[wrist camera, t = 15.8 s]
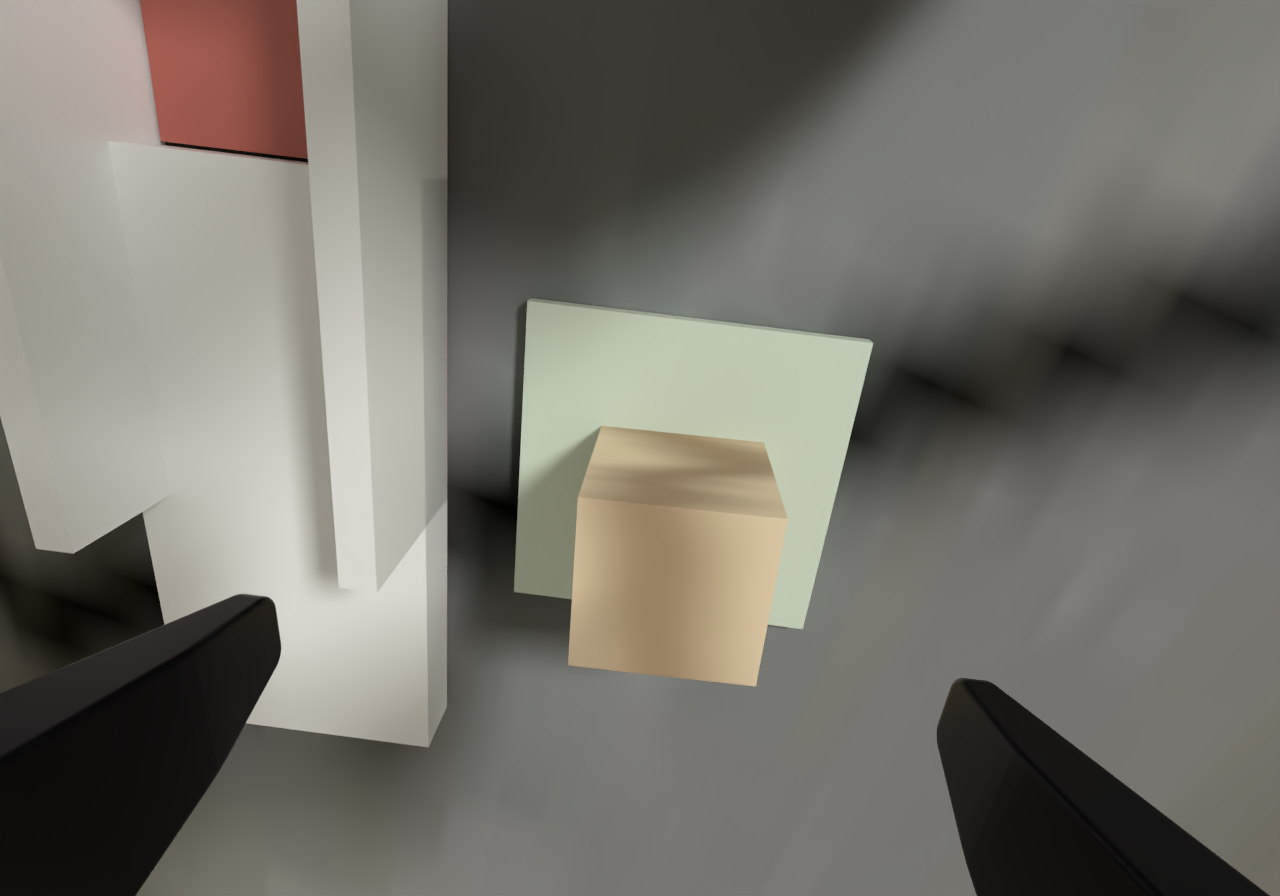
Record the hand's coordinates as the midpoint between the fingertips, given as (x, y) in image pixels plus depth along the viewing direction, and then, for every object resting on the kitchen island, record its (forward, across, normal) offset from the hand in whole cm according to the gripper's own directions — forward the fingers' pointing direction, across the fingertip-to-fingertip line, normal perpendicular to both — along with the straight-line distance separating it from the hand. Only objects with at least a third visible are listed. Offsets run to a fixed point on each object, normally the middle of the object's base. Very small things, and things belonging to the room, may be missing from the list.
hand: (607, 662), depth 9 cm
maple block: (+12, -1, +4) cm, 13 cm away
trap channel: (+12, +11, 0) cm, 17 cm away
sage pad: (+12, -1, +3) cm, 13 cm away
